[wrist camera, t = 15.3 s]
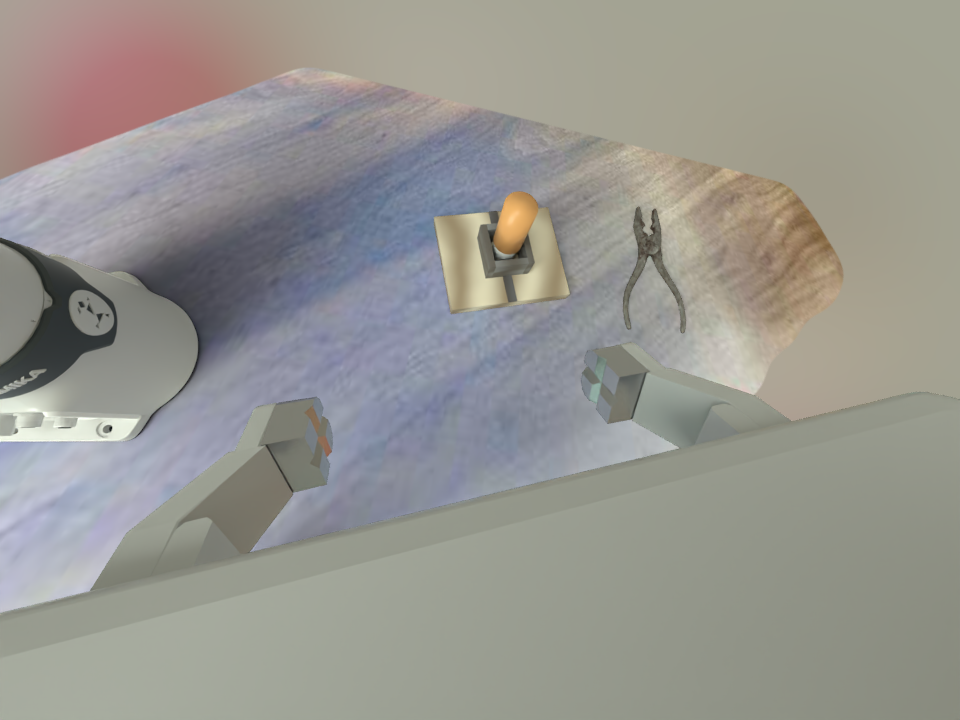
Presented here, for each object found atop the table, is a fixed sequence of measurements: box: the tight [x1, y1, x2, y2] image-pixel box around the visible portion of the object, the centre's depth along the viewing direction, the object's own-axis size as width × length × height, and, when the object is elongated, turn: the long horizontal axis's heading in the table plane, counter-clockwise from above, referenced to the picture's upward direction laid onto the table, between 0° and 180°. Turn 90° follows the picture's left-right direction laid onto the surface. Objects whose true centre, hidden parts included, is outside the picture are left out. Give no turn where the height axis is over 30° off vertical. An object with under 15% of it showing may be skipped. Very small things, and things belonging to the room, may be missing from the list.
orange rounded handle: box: [492, 191, 538, 261], centre depth 40 cm, size 4×4×10 cm
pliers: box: [623, 207, 686, 333], centre depth 49 cm, size 10×1×20 cm
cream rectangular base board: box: [434, 207, 570, 314], centre depth 44 cm, size 16×13×4 cm
